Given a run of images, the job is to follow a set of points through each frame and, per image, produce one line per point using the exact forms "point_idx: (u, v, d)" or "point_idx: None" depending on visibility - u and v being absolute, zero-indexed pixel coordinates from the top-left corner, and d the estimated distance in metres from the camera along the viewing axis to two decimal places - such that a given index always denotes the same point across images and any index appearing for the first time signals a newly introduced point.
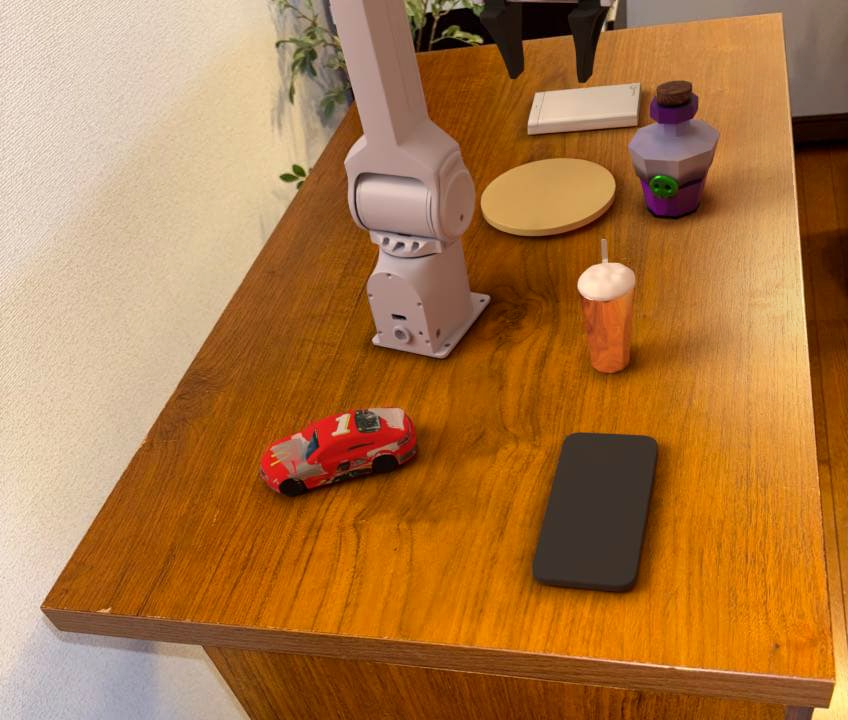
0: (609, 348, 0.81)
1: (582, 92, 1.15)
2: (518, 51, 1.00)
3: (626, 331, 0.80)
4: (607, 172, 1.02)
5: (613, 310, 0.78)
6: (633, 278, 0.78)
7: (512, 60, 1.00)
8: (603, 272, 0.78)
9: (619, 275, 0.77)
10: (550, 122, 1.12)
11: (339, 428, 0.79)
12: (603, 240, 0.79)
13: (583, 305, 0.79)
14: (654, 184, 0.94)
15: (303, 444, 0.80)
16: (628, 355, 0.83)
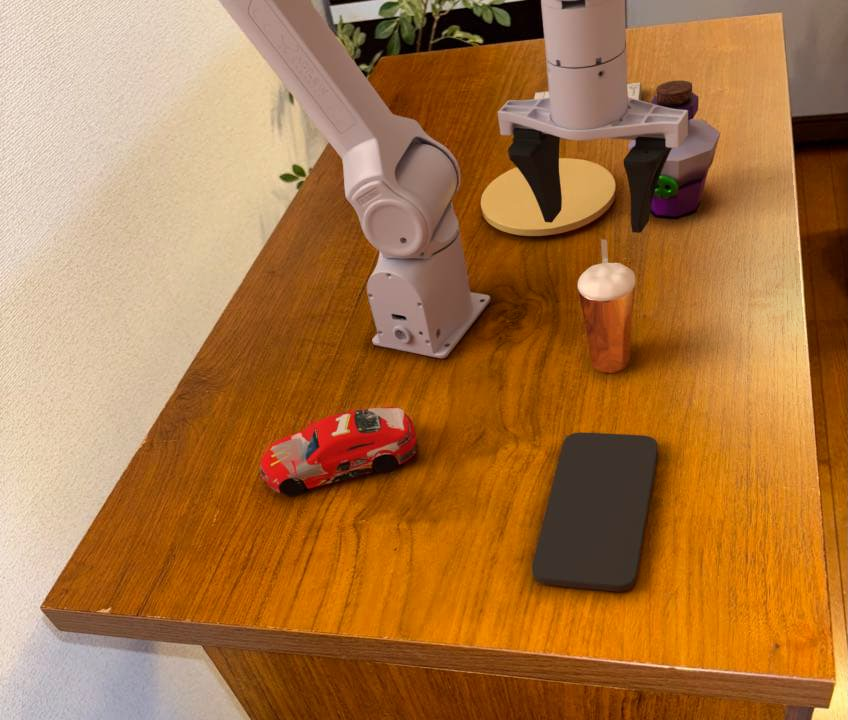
0: (609, 348, 0.81)
1: None
2: (555, 189, 0.80)
3: (626, 331, 0.80)
4: (607, 172, 1.02)
5: (613, 310, 0.78)
6: (633, 278, 0.78)
7: (548, 201, 0.80)
8: (603, 272, 0.78)
9: (619, 275, 0.77)
10: None
11: (339, 428, 0.79)
12: (603, 240, 0.79)
13: (583, 305, 0.79)
14: None
15: (303, 444, 0.80)
16: (628, 355, 0.83)
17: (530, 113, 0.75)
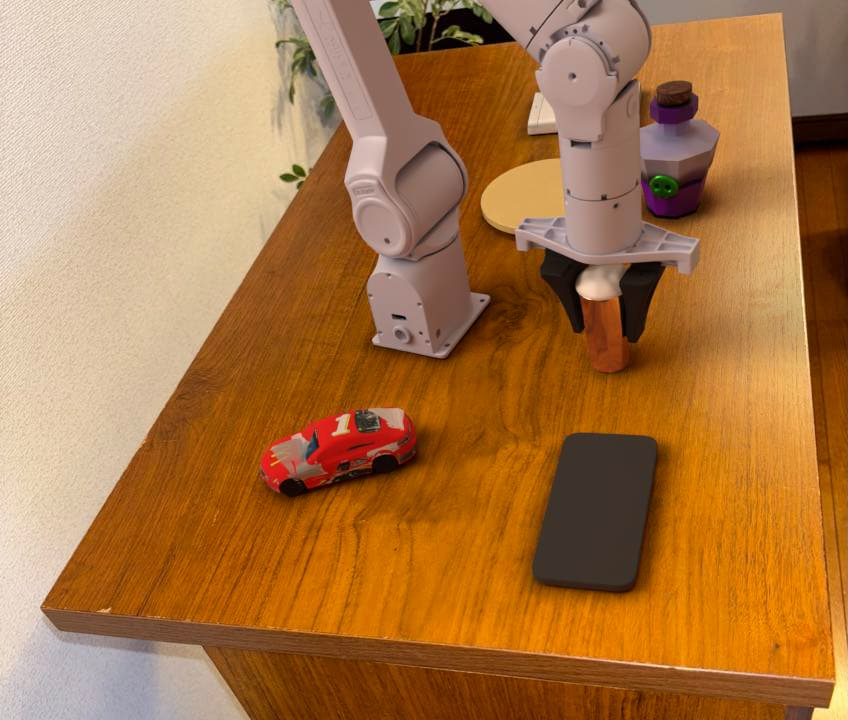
0: (608, 347, 0.81)
1: None
2: None
3: (625, 330, 0.80)
4: None
5: (611, 309, 0.78)
6: None
7: (577, 315, 0.81)
8: (600, 271, 0.78)
9: (616, 275, 0.77)
10: (550, 122, 1.12)
11: (339, 428, 0.79)
12: None
13: (581, 305, 0.79)
14: (654, 184, 0.94)
15: (303, 444, 0.80)
16: (628, 354, 0.83)
17: (546, 233, 0.77)
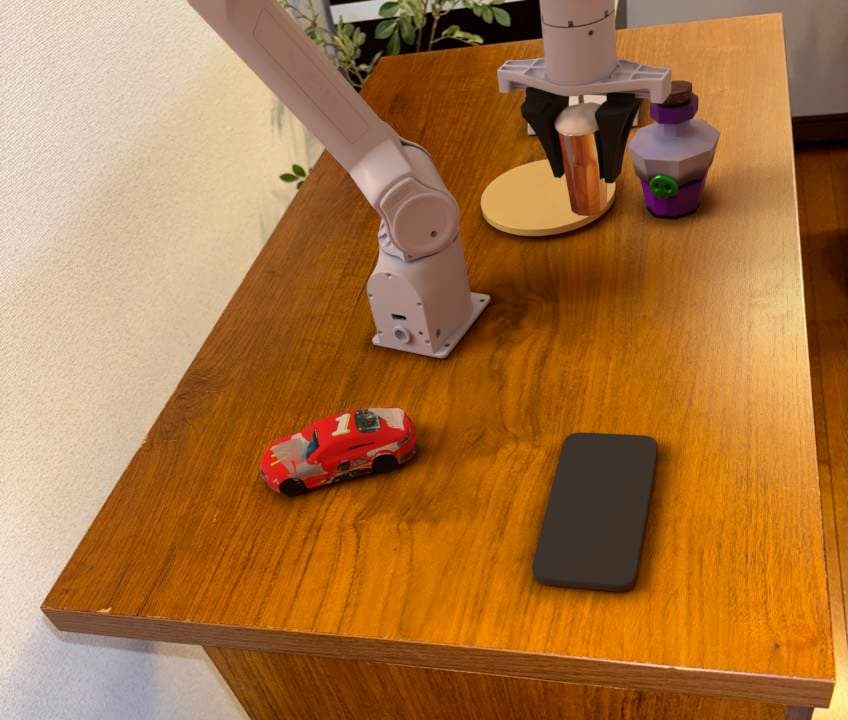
0: (586, 187, 0.85)
1: None
2: None
3: (602, 170, 0.84)
4: None
5: (588, 145, 0.82)
6: None
7: (557, 157, 0.85)
8: (578, 109, 0.82)
9: (593, 111, 0.81)
10: None
11: (339, 428, 0.79)
12: None
13: (560, 143, 0.83)
14: (654, 184, 0.94)
15: (303, 444, 0.80)
16: (605, 197, 0.87)
17: (527, 71, 0.81)
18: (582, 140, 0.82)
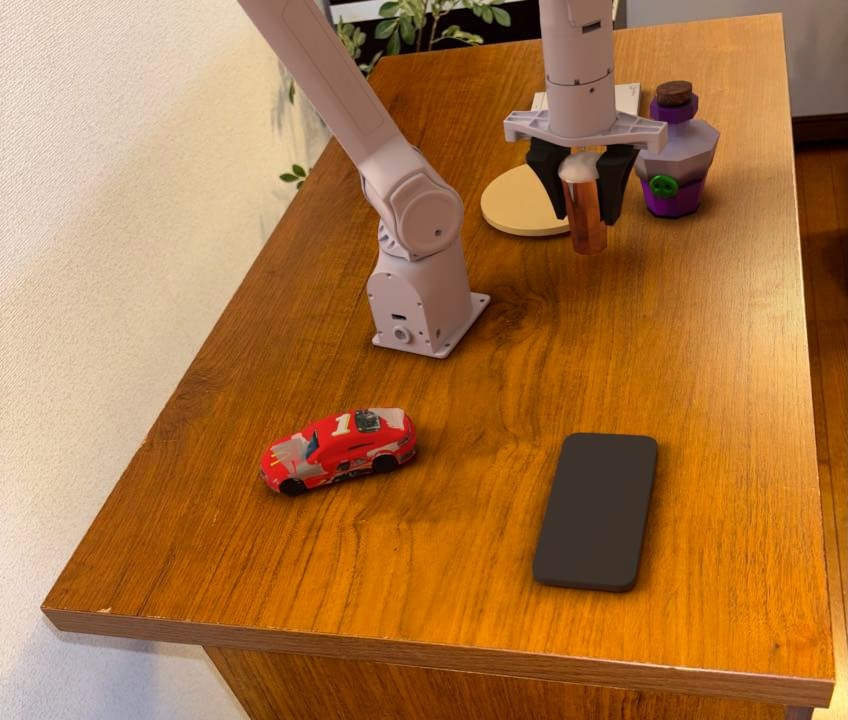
0: (588, 230, 0.90)
1: None
2: None
3: (603, 214, 0.90)
4: None
5: (590, 191, 0.87)
6: None
7: (560, 201, 0.91)
8: (580, 158, 0.87)
9: (594, 159, 0.86)
10: None
11: (339, 428, 0.79)
12: None
13: (563, 189, 0.88)
14: (654, 184, 0.94)
15: (303, 444, 0.80)
16: (606, 238, 0.92)
17: (531, 123, 0.86)
18: (584, 187, 0.87)
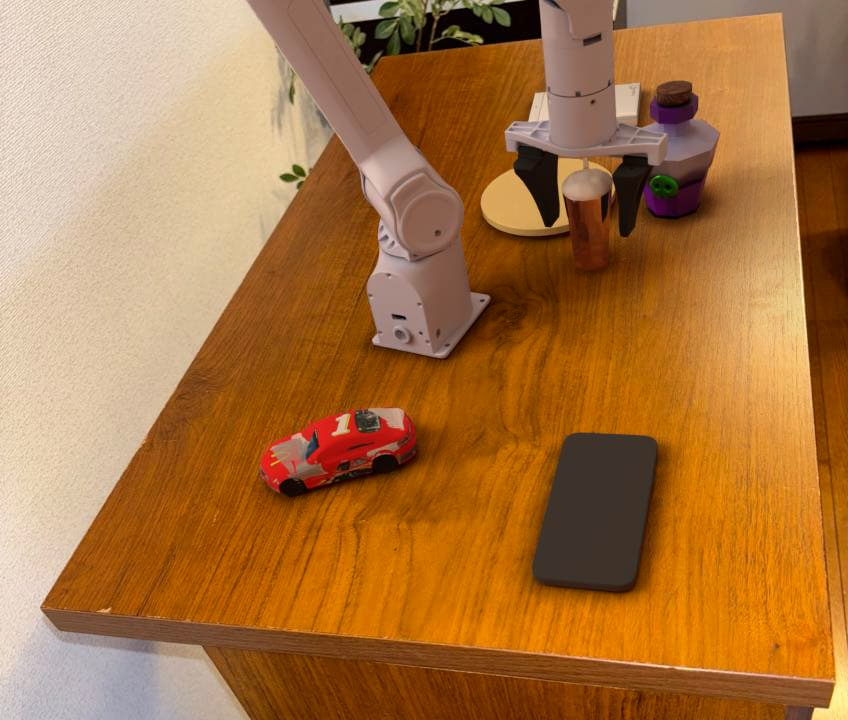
0: (590, 246, 0.91)
1: None
2: (554, 198, 0.92)
3: (605, 231, 0.91)
4: (607, 172, 1.02)
5: (593, 209, 0.88)
6: (610, 181, 0.88)
7: (547, 209, 0.92)
8: (583, 175, 0.88)
9: (598, 178, 0.87)
10: None
11: (339, 428, 0.79)
12: None
13: (566, 206, 0.89)
14: (654, 184, 0.94)
15: (303, 444, 0.80)
16: (607, 254, 0.93)
17: (532, 133, 0.87)
18: (587, 205, 0.88)
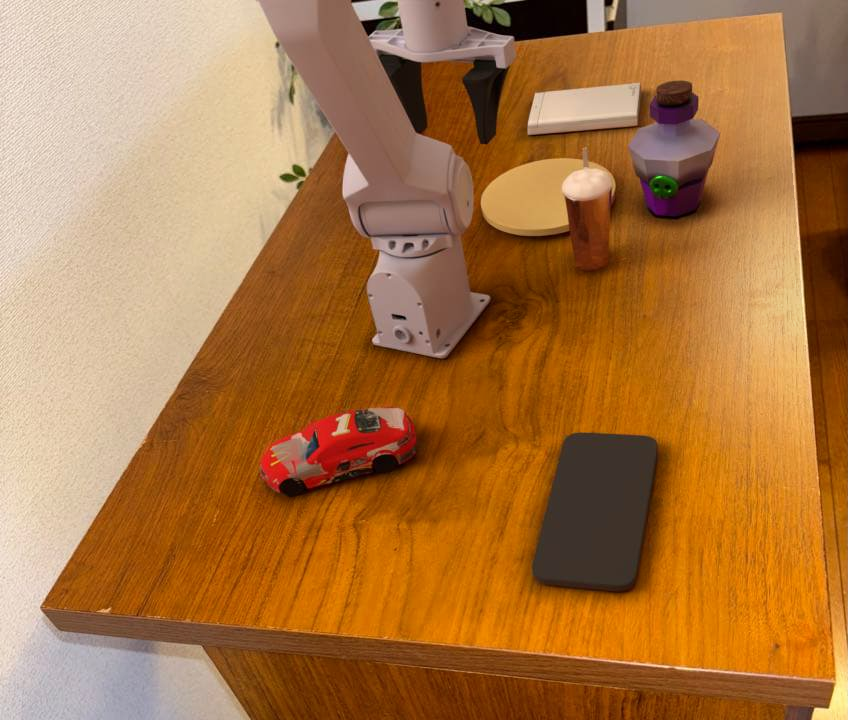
0: (590, 246, 0.91)
1: (581, 92, 1.15)
2: (419, 108, 0.95)
3: (605, 231, 0.91)
4: (607, 172, 1.02)
5: (593, 209, 0.88)
6: (610, 181, 0.88)
7: (412, 118, 0.94)
8: (583, 175, 0.88)
9: (598, 178, 0.87)
10: (550, 122, 1.12)
11: (339, 428, 0.79)
12: (584, 149, 0.89)
13: (566, 206, 0.89)
14: (654, 184, 0.94)
15: (303, 443, 0.80)
16: (607, 254, 0.93)
17: (390, 41, 0.90)
18: (587, 205, 0.88)
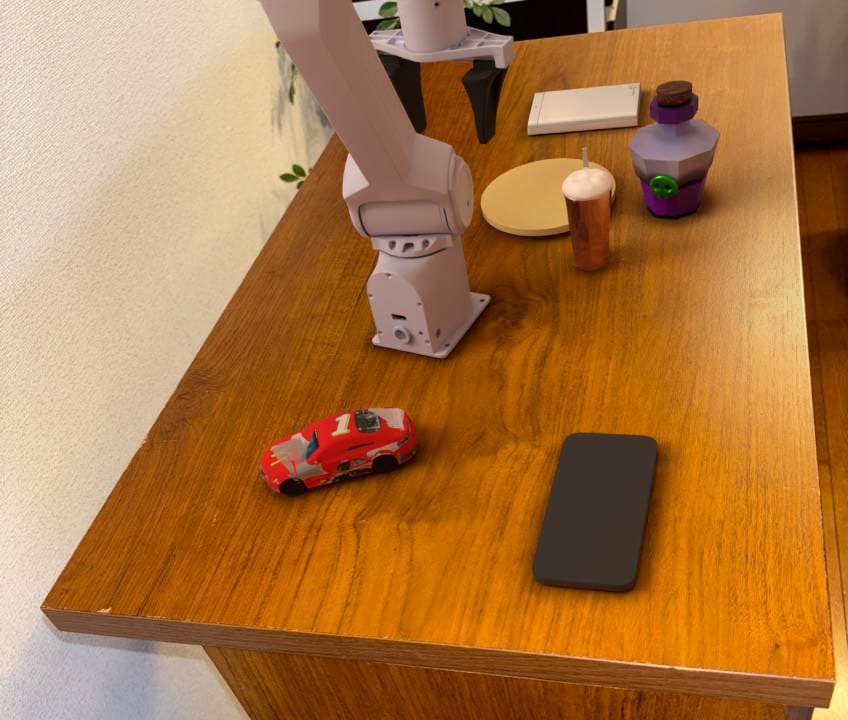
0: (590, 246, 0.91)
1: (581, 92, 1.15)
2: (418, 108, 0.95)
3: (605, 231, 0.91)
4: (607, 172, 1.02)
5: (593, 209, 0.88)
6: (610, 181, 0.88)
7: (411, 119, 0.94)
8: (583, 175, 0.88)
9: (598, 178, 0.87)
10: (550, 122, 1.12)
11: (339, 428, 0.79)
12: (584, 149, 0.89)
13: (566, 206, 0.89)
14: (654, 184, 0.94)
15: (303, 444, 0.80)
16: (607, 254, 0.93)
17: (389, 41, 0.90)
18: (587, 205, 0.88)
